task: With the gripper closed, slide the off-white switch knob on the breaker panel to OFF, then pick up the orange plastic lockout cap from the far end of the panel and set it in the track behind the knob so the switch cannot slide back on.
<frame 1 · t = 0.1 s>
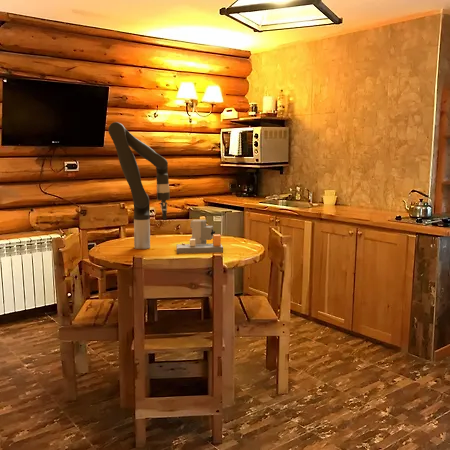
hand: (164, 218, 303), 17 cm above the table, tool pointing down, fingers open, 8 cm apart
circuit breaker: (203, 244, 315), on the table
breaker panel: (199, 250, 295), on the table
lockout cap: (216, 245, 296), point 3 cm above the table, touching breaker panel
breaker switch: (192, 242, 294), point 5 cm above the table, slide at 0.0 cm
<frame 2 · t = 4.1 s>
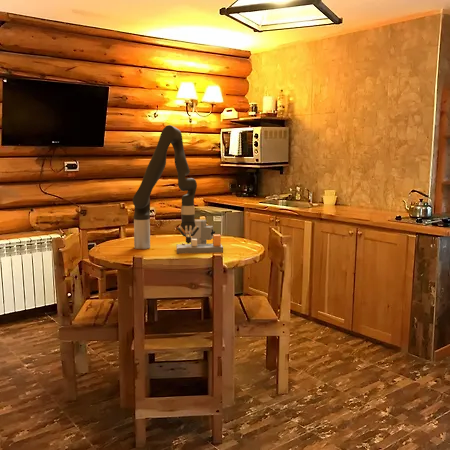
hand: (188, 243, 293), 5 cm above the table, tool pointing down, fingers closed
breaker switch: (194, 242, 294), point 5 cm above the table, slide at 1.0 cm, touching gripper
everything else where it was.
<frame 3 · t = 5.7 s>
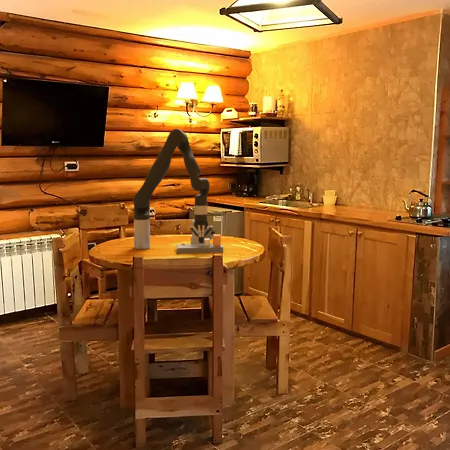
hand: (201, 243, 294), 5 cm above the table, tool pointing down, fingers closed
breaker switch: (207, 242, 295), point 5 cm above the table, slide at 8.4 cm, touching gripper
everything else where it was.
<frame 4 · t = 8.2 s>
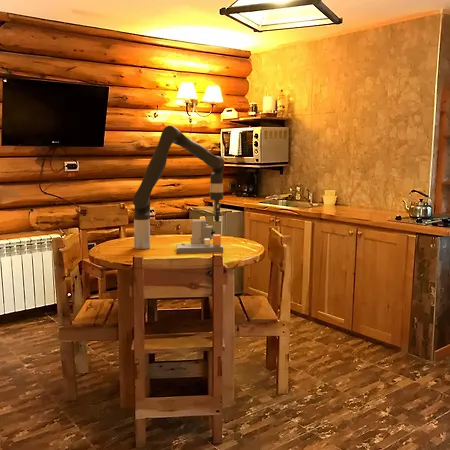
hand: (216, 220, 294), 17 cm above the table, tool pointing down, fingers open, 4 cm apart
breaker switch: (207, 242, 295), point 5 cm above the table, slide at 8.4 cm
everything else where it was.
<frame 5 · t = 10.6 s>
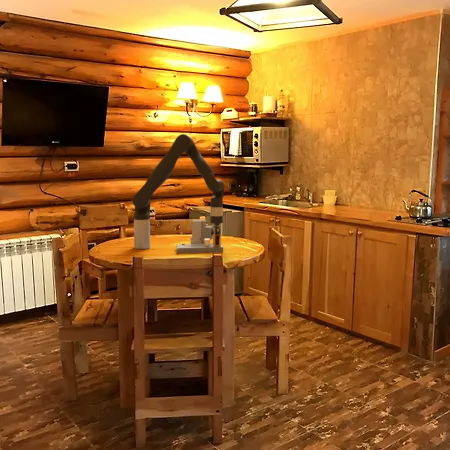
hand: (216, 244, 296), 4 cm above the table, tool pointing down, fingers closed on lockout cap, 4 cm apart
lockout cap: (216, 245, 296), point 3 cm above the table, touching breaker panel, gripper
everything else where it was.
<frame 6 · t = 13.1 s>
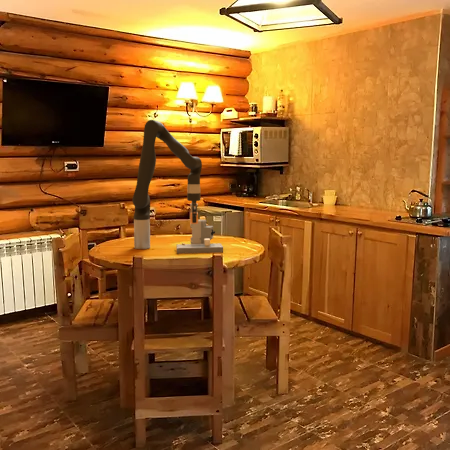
hand: (194, 222, 292), 17 cm above the table, tool pointing down, fingers closed on lockout cap, 4 cm apart
lockout cap: (194, 223, 292), point 16 cm above the table, touching gripper
everything else where it was.
when the fingers open (5 cm above the table, at t = 15.5 s): lockout cap drops 1 cm, resting on breaker panel.
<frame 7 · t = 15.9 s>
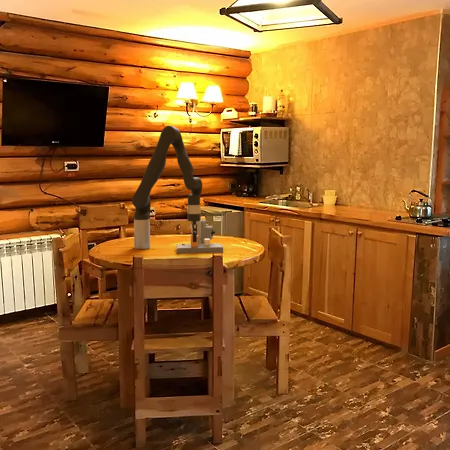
hand: (194, 240, 294), 6 cm above the table, tool pointing down, fingers open, 7 cm apart
lockout cap: (194, 245, 294), point 3 cm above the table, touching breaker panel
everything else where it was.
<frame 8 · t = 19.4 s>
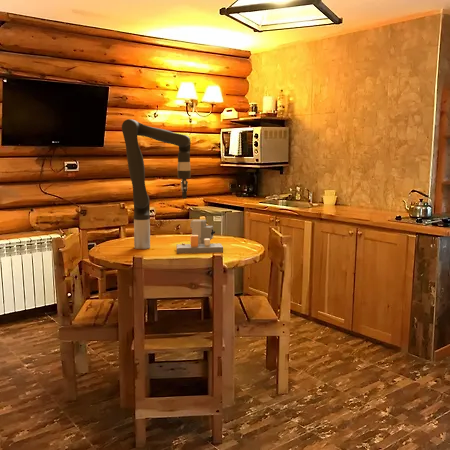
hand: (184, 197, 297), 30 cm above the table, tool pointing down, fingers open, 8 cm apart
nothing on the table moved.
at the end: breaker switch slide at 8.4 cm; lockout cap 0.1 cm from the target spot on the breaker panel, point 3.0 cm above the breaker panel's base; lockout cap tilted 0° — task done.
